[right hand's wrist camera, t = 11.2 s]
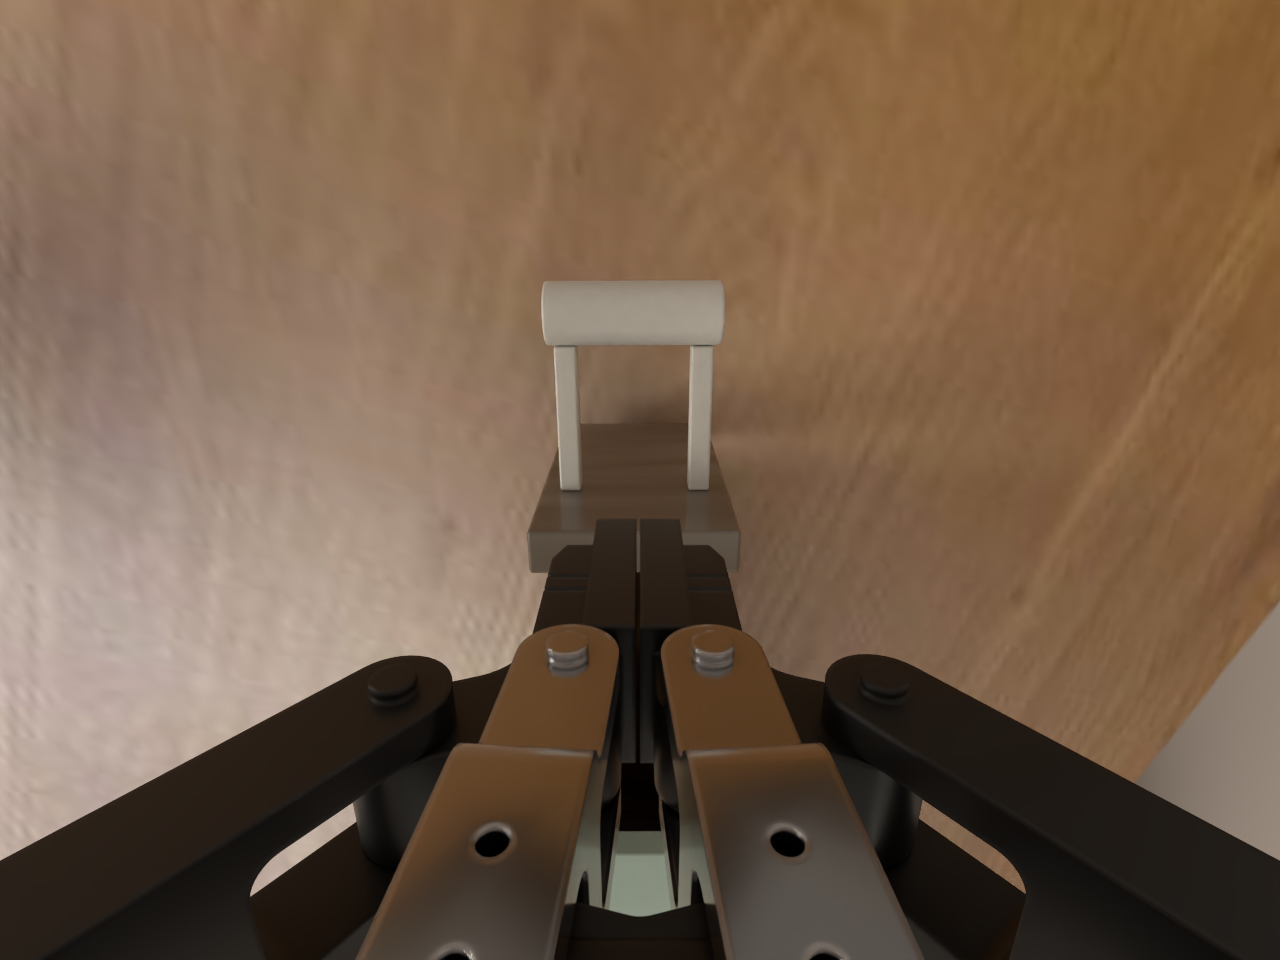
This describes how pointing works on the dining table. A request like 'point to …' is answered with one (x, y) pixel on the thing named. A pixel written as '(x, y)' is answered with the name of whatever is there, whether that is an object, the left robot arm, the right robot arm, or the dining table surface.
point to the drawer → (633, 449)
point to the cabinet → (639, 875)
